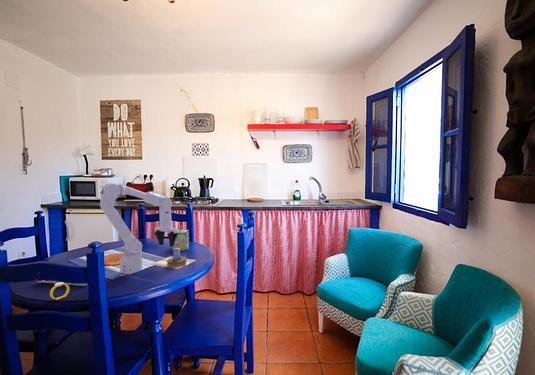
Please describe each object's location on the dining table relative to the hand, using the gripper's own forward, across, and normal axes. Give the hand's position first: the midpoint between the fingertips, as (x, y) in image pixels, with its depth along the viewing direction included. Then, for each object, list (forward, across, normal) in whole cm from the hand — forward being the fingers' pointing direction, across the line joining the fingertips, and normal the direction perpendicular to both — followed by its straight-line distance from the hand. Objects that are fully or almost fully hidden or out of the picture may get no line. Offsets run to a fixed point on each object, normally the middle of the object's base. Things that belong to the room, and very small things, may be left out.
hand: (166, 245), depth 141 cm
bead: (+9, -7, +1) cm, 11 cm away
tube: (+10, +22, +37) cm, 44 cm away
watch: (+10, +8, +46) cm, 48 cm away
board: (+9, -4, -1) cm, 10 cm away
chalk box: (+10, +12, -22) cm, 26 cm away
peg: (+9, -7, 0) cm, 11 cm away
